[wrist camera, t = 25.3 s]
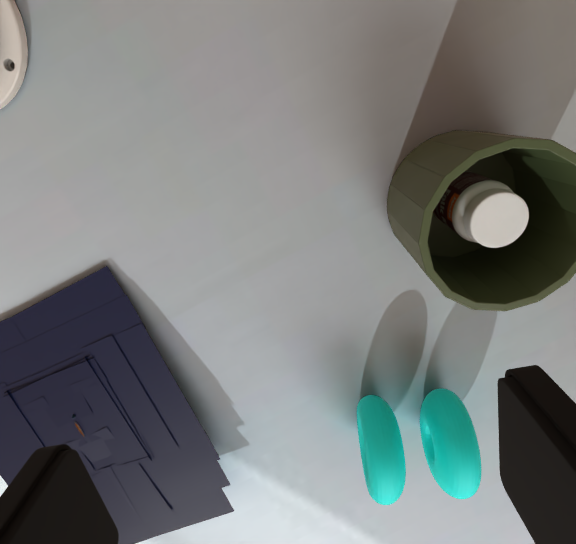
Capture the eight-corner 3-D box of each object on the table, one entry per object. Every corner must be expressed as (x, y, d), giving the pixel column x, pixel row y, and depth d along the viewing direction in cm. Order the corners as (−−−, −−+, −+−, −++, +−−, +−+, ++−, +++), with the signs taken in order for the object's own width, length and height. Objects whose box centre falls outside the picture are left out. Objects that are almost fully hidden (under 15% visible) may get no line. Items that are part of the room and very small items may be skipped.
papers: (81, 545, 52) (64, 573, 48) (-61, 345, 46) (-93, 360, 42) (253, 486, 48) (248, 512, 44) (122, 258, 42) (105, 267, 38)
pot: (363, 228, 38) (387, 270, 28) (432, 105, 34) (488, 104, 24) (469, 279, 40) (526, 335, 30) (546, 167, 36) (642, 189, 26)
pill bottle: (421, 181, 36) (457, 200, 28) (476, 160, 35) (529, 175, 27) (435, 230, 37) (472, 262, 29) (487, 212, 37) (540, 239, 29)
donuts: (446, 441, 47) (484, 523, 38) (358, 448, 47) (374, 531, 38) (447, 367, 43) (489, 437, 34) (352, 376, 44) (368, 448, 34)
